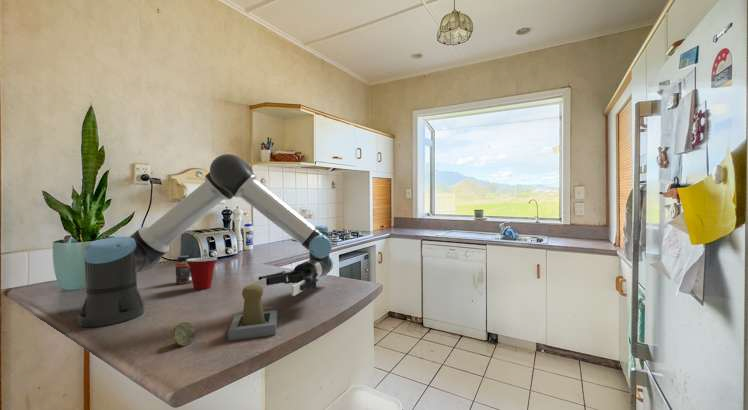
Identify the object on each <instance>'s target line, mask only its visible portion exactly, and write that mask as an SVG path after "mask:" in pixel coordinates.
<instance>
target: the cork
mask: <svg viewBox="0 0 748 410" xmlns="http://www.w3.org/2000/svg"><path fill="white" fill-rule="evenodd" d="M241 294H242V295H241V296H242V298H243V300H244V301H243V310H242V311H243V312H242V314H243V318H242V326H248V325H257V324H265V319H264V306H263V301H262V297H263V296H264V295H263V294H264V288H262V287H261V286H260V285H251V284H250V285H247V286H244V288H243V290H242V292H241Z"/></svg>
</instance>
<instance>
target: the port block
mask: <svg viewBox="0 0 748 410" xmlns="http://www.w3.org/2000/svg"><path fill="white" fill-rule="evenodd" d="M263 312H264V319H265V324H257V325H248V326H242V318H243V313H237V314H234V317H233V320H232V321H231V323H230V325H229V328H228V330H227V336H228V337H227V339H228V340H227V341H228V342H229V341H236V340H237V341H239V340H244V339H245V340H246V339H252V338H253V339H254V338H260V337H267V336H273V335H274V336H276V335H277V325H278V310H277V309H273V310H265V311H264V310H263Z"/></svg>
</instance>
